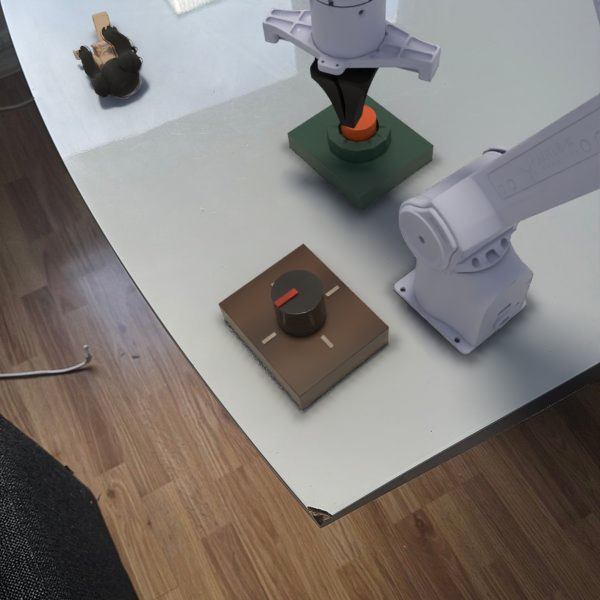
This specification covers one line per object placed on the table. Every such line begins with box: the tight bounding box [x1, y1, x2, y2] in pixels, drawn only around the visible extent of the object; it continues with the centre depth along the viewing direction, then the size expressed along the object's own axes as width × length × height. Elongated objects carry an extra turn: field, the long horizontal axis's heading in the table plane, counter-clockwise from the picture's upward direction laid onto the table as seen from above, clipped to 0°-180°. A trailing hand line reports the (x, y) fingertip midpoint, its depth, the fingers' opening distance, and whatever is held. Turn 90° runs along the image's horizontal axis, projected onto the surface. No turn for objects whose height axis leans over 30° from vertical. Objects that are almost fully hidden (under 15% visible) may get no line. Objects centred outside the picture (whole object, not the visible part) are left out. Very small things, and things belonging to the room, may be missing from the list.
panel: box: [218, 243, 390, 410], centre depth 60 cm, size 12×10×3 cm
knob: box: [271, 270, 326, 337], centre depth 57 cm, size 4×4×4 cm
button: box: [341, 105, 376, 142], centre depth 68 cm, size 4×4×2 cm
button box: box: [287, 94, 434, 211], centre depth 70 cm, size 12×10×4 cm
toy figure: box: [72, 11, 143, 100], centre depth 80 cm, size 7×6×15 cm
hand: (351, 119), depth 60 cm, fingers closed
